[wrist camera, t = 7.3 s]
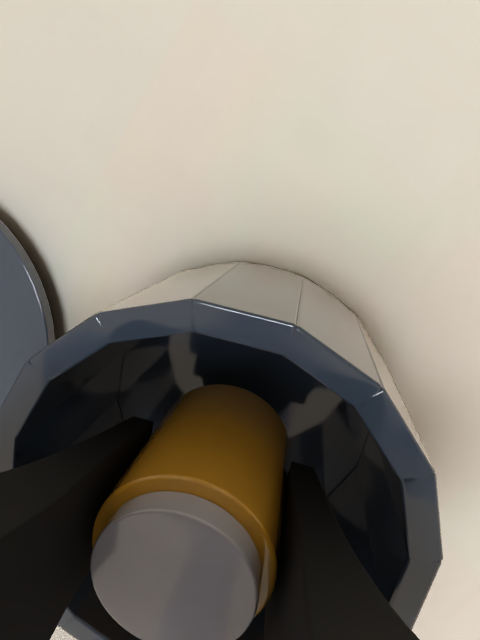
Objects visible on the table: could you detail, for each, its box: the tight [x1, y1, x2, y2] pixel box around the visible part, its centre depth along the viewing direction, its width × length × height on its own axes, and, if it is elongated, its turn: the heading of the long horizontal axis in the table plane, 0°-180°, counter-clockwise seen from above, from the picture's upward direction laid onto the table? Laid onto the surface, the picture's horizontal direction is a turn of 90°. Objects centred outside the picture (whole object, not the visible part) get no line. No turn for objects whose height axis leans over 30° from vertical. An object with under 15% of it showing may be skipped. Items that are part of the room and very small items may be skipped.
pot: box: [0, 262, 443, 640], centre depth 13 cm, size 11×11×6 cm
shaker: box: [90, 384, 290, 640], centre depth 11 cm, size 4×4×5 cm
